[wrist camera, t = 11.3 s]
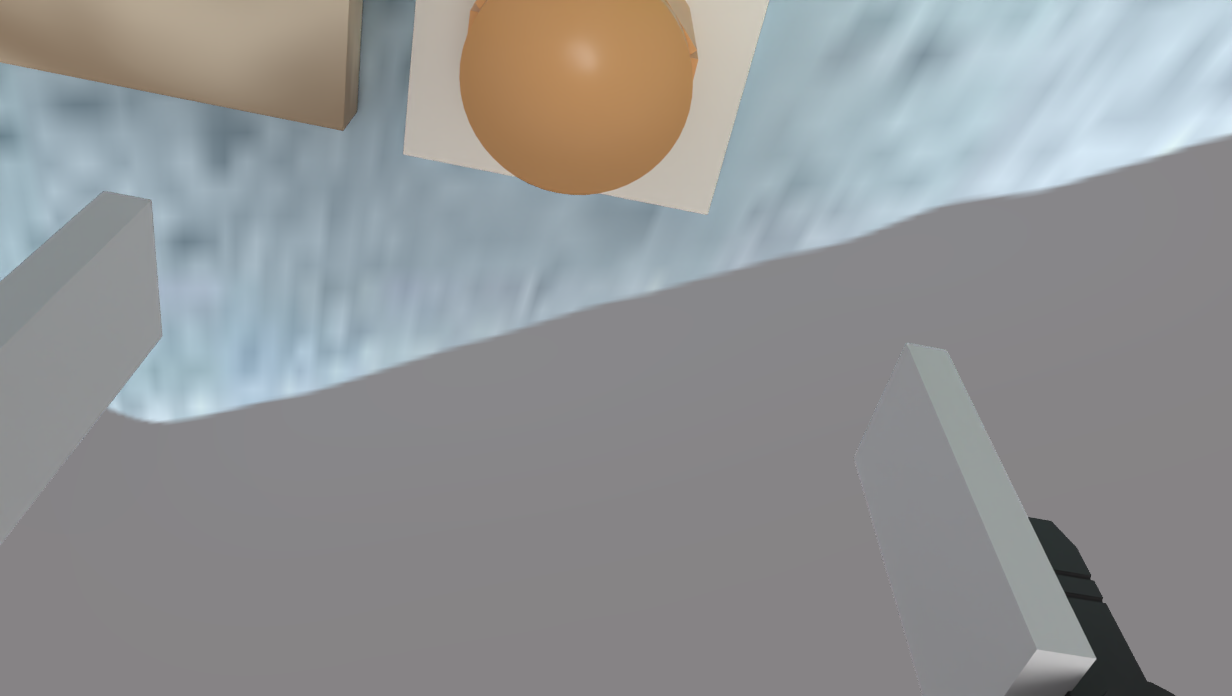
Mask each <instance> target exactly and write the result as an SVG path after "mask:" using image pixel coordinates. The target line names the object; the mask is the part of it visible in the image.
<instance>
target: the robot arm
mask: <svg viewBox="0 0 1232 696" xmlns="http://www.w3.org/2000/svg"><path fill="white" fill-rule="evenodd" d="M161 337H162V326H161V314H160V301H159V289H158V276H157V264H156V251H155V239H154V226H153V214H152V201H151V200H150V199H144V198H139V197H134V196H128V195H123V194H118V193H113V192H107V191H103V192H102V193H100V194H99V195H98V196H97V197H96V198H95V199H94V200H93V201H91V202H90V203H89V204H88V205H87V206H86V207H85V208H83V209H82V210H81V211H80V212H79V213H78V214H77V215H75V216H74V217H73V218H72V219H71V220H70V221H69V222H68V223H66V224H65V225H64V226H63V227H62V228H61V229H60V230H58V231H57V232H56V233H55V234H54V235H53V236H52V237H50V238H49V239H48V240H47V241H46V242H45V243H44V244H43V245H41V246H40V247H39V248H38V249H37V250H36V251H35V252H33V253H32V254H31V255H30V256H29V257H28V258H27V259H25V260H24V261H23V262H22V263H21V264H20V265H19V266H18V267H16V268H15V269H14V270H13V271H12V272H11V273H10V274H8V275H7V276H6V277H5V278H4V279H3V280H2V281H0V545H1V544H2V543H3V542H4V540H5V539H6V538H7V536H8V535H9V534H10V532H11V531H12V530H13V528H14V527H15V526H16V524H17V523H18V522H19V521H20V520H21V518H22V517H23V515H24V514H25V513H26V512H27V510H28V509H29V508H30V507H31V505H32V504H33V503H34V501H35V500H36V499H37V498H38V496H39V495H40V494H41V492H42V491H43V490H44V489H45V487H46V486H47V485H48V483H49V482H50V481H51V479H52V478H53V477H54V476H55V474H56V473H57V472H58V470H59V469H60V468H61V467H62V465H63V464H64V463H65V461H66V460H67V459H68V458H69V456H70V455H71V454H72V452H73V451H74V450H75V448H76V447H77V446H78V445H79V443H80V442H81V441H82V439H83V438H84V437H85V436H86V434H87V433H88V431H89V430H90V429H91V428H92V426H93V425H94V424H95V423H96V421H97V420H98V419H99V417H100V416H101V415H102V414H103V412H104V411H105V410H106V408H107V407H108V406H109V405H110V403H111V402H112V401H113V399H114V398H115V397H116V395H117V394H118V393H119V392H120V390H121V389H122V388H123V386H124V385H125V384H126V383H127V381H128V380H129V379H130V377H131V376H132V375H133V373H134V372H135V371H136V370H137V368H138V367H139V366H140V364H141V363H142V362H143V361H144V359H145V358H146V357H147V355H148V354H149V353H150V351H151V350H152V349H153V348H154V346H155V345H156V344H157V342H158V341H159V340H160V339H161ZM854 461H855V465H856V468H857V471H858V475H859V478H860V482H861V485H862V489H863V492H864V496H865V499H866V502H867V506H868V509H869V513H870V516H871V520H872V523H873V527H874V531H875V534H876V537H877V541H878V544H879V548H880V551H881V554H882V558H883V562H884V565H885V568H886V572H887V576H888V579H889V582H890V586H891V589H892V593H893V596H894V600H895V603H896V606H897V610H898V613H899V617H900V621H901V624H902V628H903V631H904V634H905V638H906V641H907V645H908V648H909V652H910V655H911V659H912V662H913V666H914V669H915V673H916V676H917V679H918V682H919V686H920V690H921V693H922V696H1175V695H1174V694H1172V693H1170V692H1169V691H1167V690H1165V689H1163V688H1161V687H1159V686H1157V685H1155V684H1153V683H1151V682H1147V680H1146V678H1145V677H1144V675H1143V673H1142V671H1141V669H1140V667H1139V665H1138V663H1137V662H1136V660H1135V658H1134V656H1133V654H1132V652H1131V650H1130V649H1129V646H1128V644H1127V642H1126V641H1125V639H1124V637H1123V635H1122V633H1121V631H1120V629H1119V627H1118V625H1117V623H1116V622H1115V620H1114V618H1113V616H1112V614H1111V612H1110V610H1109V608H1108V606H1107V605H1106V603H1103V602H1102V599H1103V597H1102V595H1101V593H1100V591H1099V589H1098V587H1097V585H1096V584H1095V582H1094V581H1092V580H1090V577H1091V574H1090V572H1089V570H1088V568H1087V566H1086V565H1085V563H1084V561H1083V559H1082V557H1081V555H1080V553H1079V551H1078V549H1077V548H1076V546H1075V545H1074V544H1073V543H1072V542H1071V541H1070V540H1069V539H1068V538H1067V537H1066V536H1065V535H1064V534H1063V533H1062V532H1061V531H1060V530H1059V529H1058V528H1057V527H1056V525H1054V523H1053V522H1051V521H1048V520H1042V519H1036V518H1030V517H1027V515H1026V513H1025V510H1024V508H1023V506H1022V504H1021V502H1020V500H1019V498H1018V496H1017V494H1016V492H1015V490H1014V488H1013V486H1012V484H1011V482H1010V479H1009V477H1008V475H1007V474H1006V471H1005V469H1004V467H1003V465H1002V463H1001V461H1000V459H999V457H998V455H997V453H996V451H995V449H994V447H993V444H992V443H991V440H990V438H989V436H988V434H987V432H986V430H985V428H984V426H983V424H982V422H981V420H980V418H979V416H978V414H977V412H976V409H975V407H974V405H973V403H972V401H971V399H970V397H969V395H968V393H967V391H966V389H965V387H964V385H963V383H962V381H961V379H960V377H959V374H958V372H957V370H956V368H955V366H954V364H953V362H952V360H951V358H950V356H949V354H948V352H947V350H943V349H938V348H932V347H927V346H922V345H917V344H912V343H906V344H905V346H904V349H903V351H902V353H901V355H900V357H899V359H898V361H897V364H896V366H895V368H894V370H893V372H892V375H891V377H890V379H889V381H888V383H887V385H886V388H885V390H884V392H883V394H882V397H881V399H880V401H879V403H878V405H877V407H876V410H875V412H874V414H873V416H872V418H871V420H870V423H869V425H868V427H867V429H866V432H865V434H864V436H863V438H862V440H861V442H860V444H859V447H858V449H857V451H856V453H855V455H854Z"/></svg>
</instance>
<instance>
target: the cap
mask: <svg viewBox="0 0 1232 696" xmlns="http://www.w3.org/2000/svg"><path fill="white" fill-rule="evenodd" d="M697 63H698V54H697V47H696V41H695V35H694V29H693V23H692V18H691V12H690V8H689V6H688V4H687V3H686V1H685V0H476V1H475V3H474V5H473V6H472V8H471V10H470V16H469V25H468V34H467V37H466V40H465V43H464V46H463V50H462V55H461V61H460V75H459V80H460V92H461V97H462V102H463V106H464V110H465V113H466V115H467V118H468V121H469V123H470V125H471V127H472V129H473V131H474V133H475V135H476V137H477V138H478V140H479V141H480V142H481V144H482V145H483V147H484V148H485V149H486V151H487V152H488V153H489V154H490V155H491V156H492V157H493V159H495V160H496V161H497V162H498V163H499V164H500V165H501V166H502V167H503V168H505V169H506V170H507V171H509V172H510V173H512V174H513V175H514V176H516V177H518V178H519V179H521V180H523V181H525V182H527V183H529V184H531V185H534V186H536V187H539V188H541V189H544V190H548V191H552V192H556V193H562V194H570V195H589V194H598V193H603V192H607V191H612V190H615V189H618V188H620V187H623V186H626V185H628V184H630V183H632V182H634V181H636V180H638V179H639V178H641V177H642V176H644V175H645V174H647V173H648V172H649V171H651V170H652V169H653V168H654V167H655V166H656V165H658V164H659V163H660V162H661V161H662V160H663V159H664V157H665V156H666V155H667V154H668V153H669V152H670V150H671V149H672V147H673V146H674V144H675V143H676V141H677V140H678V138H679V136H680V134H681V132H682V130H683V128H684V126H685V123H686V120H687V117H688V114H689V111H690V106H691V100H692V91H693V79H694V75H695V71H696V67H697Z"/></svg>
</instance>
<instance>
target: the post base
mask: <svg viewBox="0 0 1232 696" xmlns="http://www.w3.org/2000/svg"><path fill="white" fill-rule="evenodd" d="M362 8H363V0H0V62H2V63H7V64H12V65H17V66H22V67H27V68H32V69H37V70H42V71H47V72H52V73H57V74H62V75H67V76H72V77H77V78H82V79H87V80H92V81H97V82H102V83H107V84H112V85H117V86H122V87H127V88H132V89H137V90H142V91H147V92H152V93H157V94H162V95H167V96H172V97H177V98H182V99H187V100H192V101H197V102H202V103H207V104H212V105H217V106H222V107H227V108H232V109H237V110H242V111H247V112H252V113H257V114H262V115H267V116H272V117H277V118H282V119H287V120H292V121H297V122H302V123H307V124H312V125H317V126H322V127H327V128H332V129H337V130H342V131H343V130H344V129H345V128H346V126H347V125H348V124H349V122H350V121H351V119H352V118H353V117H354V115H355V114H356V112H357V103H358V84H359V65H360V46H361V27H362Z"/></svg>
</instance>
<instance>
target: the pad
mask: <svg viewBox="0 0 1232 696" xmlns="http://www.w3.org/2000/svg"><path fill="white" fill-rule="evenodd" d="M475 1H476V0H416V5H415V17H414V29H413V41H412V53H411V65H410V77H409V89H408V101H407V114H406V126H405V138H404V150H403V155H408V156H413V157H418V158H423V159H428V160H433V161H439V162H444V163H449V164H454V165H459V166H464V167H469V168H474V169H479V170H484V171H489V172H494V173H499V174H504V175H509V176H514V175H513V174H512V173H510V172H509V171H507V170H506V169H505V168H503V167H502V166H501V165H500V164H499V163H498V162H497V161H496V160H495V159H493V157H492V156H491V155H490V154H489V153H488V152H487V151H486V149H485V148H484V147H483V145H482V144H481V142H480V141H479V140H478V138H477V137H476V135H475V133H474V131H473V129H472V127H471V125H470V123H469V121H468V118H467V115H466V113H465V110H464V106H463V102H462V97H461V92H460V80H459V75H460V61H461V55H462V50H463V46H464V43H465V40H466V37H467V34H468V25H469V16H470V10H471V8H472V6H473V5H474V3H475ZM685 1H686V3H687V4H688V6H689V8H690V12H691V18H692V23H693V29H694V35H695V41H696V47H697V54H698V63H697V67H696V71H695V75H694V79H693V91H692V100H691V106H690V111H689V114H688V117H687V120H686V123H685V126H684V128H683V130H682V132H681V134H680V136H679V138H678V140H677V141H676V143H675V144H674V146H673V147H672V149H671V150H670V152H669V153H668V154H667V155H666V156H665V157H664V159H663V160H662V161H661V162H660V163H659V164H658V165H656V166H655V167H654V168H653V169H652V170H651V171H649V172H648V173H647V174H645V175H644V176H642V177H641V178H639V179H638V180H636V181H634V182H632V183H630V184H628V185H626V186H623V187H620V188H618V189H615V190H612V191H607V192H603V193H600V194H605V195H610V196H615V197H620V198H625V199H630V200H635V201H640V202H645V203H650V204H655V205H660V206H665V207H670V208H675V209H680V210H685V211H690V212H695V213H700V214H705V215H708V212H709V208H710V205H711V201H712V198H713V194H714V191H715V187H716V184H717V181H718V177H719V174H720V170H721V167H722V163H723V160H724V156H725V153H726V149H727V146H728V142H729V139H730V135H731V132H732V128H733V125H734V121H735V118H736V114H737V111H738V107H739V104H740V100H741V97H742V94H743V90H744V87H745V83H746V80H747V76H748V73H749V69H750V66H751V62H752V59H753V55H754V52H755V48H756V45H757V41H758V38H759V34H760V31H761V27H762V24H763V20H764V17H765V14H766V10H767V7H768V3H769V0H685ZM514 177H516V176H514Z"/></svg>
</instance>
